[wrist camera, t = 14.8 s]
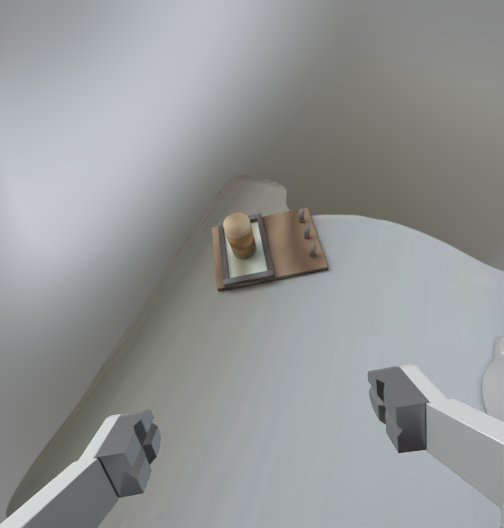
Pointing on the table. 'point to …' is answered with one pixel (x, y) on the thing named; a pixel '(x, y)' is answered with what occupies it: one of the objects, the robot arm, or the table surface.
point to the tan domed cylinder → (240, 235)
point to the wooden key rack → (270, 250)
